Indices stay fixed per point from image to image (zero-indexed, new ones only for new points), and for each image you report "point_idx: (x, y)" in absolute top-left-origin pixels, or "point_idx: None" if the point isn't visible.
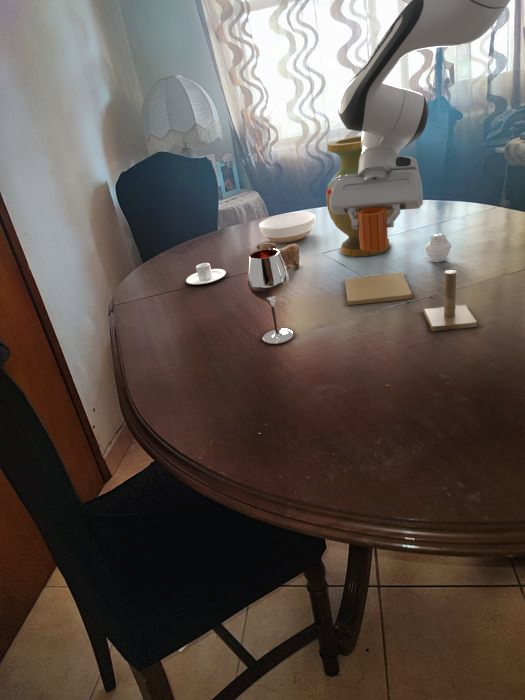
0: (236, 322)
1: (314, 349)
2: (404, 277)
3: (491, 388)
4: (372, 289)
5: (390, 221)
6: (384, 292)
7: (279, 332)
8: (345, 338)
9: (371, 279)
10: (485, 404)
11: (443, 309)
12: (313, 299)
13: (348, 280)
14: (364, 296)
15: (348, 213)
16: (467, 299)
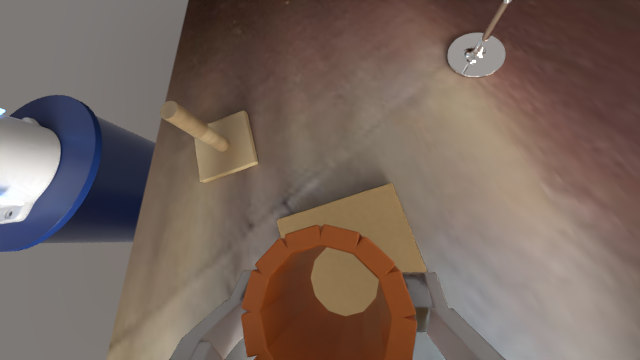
0: (615, 86)
1: (394, 39)
2: None
3: (200, 25)
4: None
5: (249, 277)
6: None
7: (474, 49)
8: (358, 75)
9: None
10: (208, 5)
11: (229, 162)
12: (484, 210)
13: None
14: (363, 207)
15: (498, 354)
16: (199, 218)
